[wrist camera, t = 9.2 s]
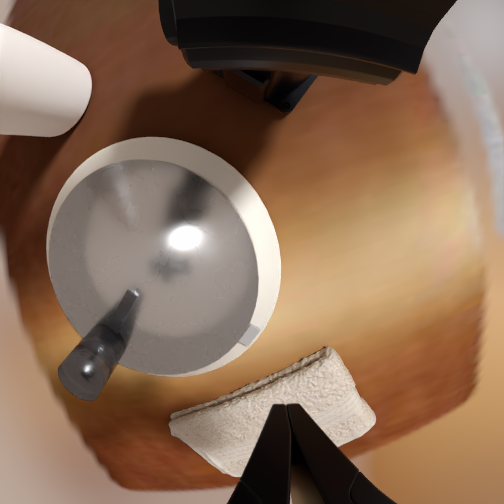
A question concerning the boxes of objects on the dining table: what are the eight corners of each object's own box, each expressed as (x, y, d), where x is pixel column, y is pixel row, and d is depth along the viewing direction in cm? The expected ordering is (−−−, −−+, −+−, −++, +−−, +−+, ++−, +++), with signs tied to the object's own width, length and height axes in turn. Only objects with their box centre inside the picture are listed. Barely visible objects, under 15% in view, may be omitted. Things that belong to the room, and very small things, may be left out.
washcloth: (164, 411, 25) (157, 433, 22) (330, 334, 23) (339, 356, 20) (231, 465, 28) (230, 485, 25) (372, 408, 26) (382, 428, 23)
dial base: (116, 97, 17) (105, 92, 15) (329, 230, 20) (336, 236, 18) (37, 290, 21) (26, 297, 19) (201, 396, 24) (198, 409, 22)
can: (28, 137, 17) (-82, 138, 6) (44, 66, 16) (-54, 33, 4) (84, 138, 18) (-40, 129, 6) (103, 59, 16) (3, -2, 5)
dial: (115, 119, 16) (59, 102, 10) (304, 247, 19) (331, 285, 12) (40, 290, 19) (-8, 324, 13) (187, 391, 22) (172, 451, 15)
